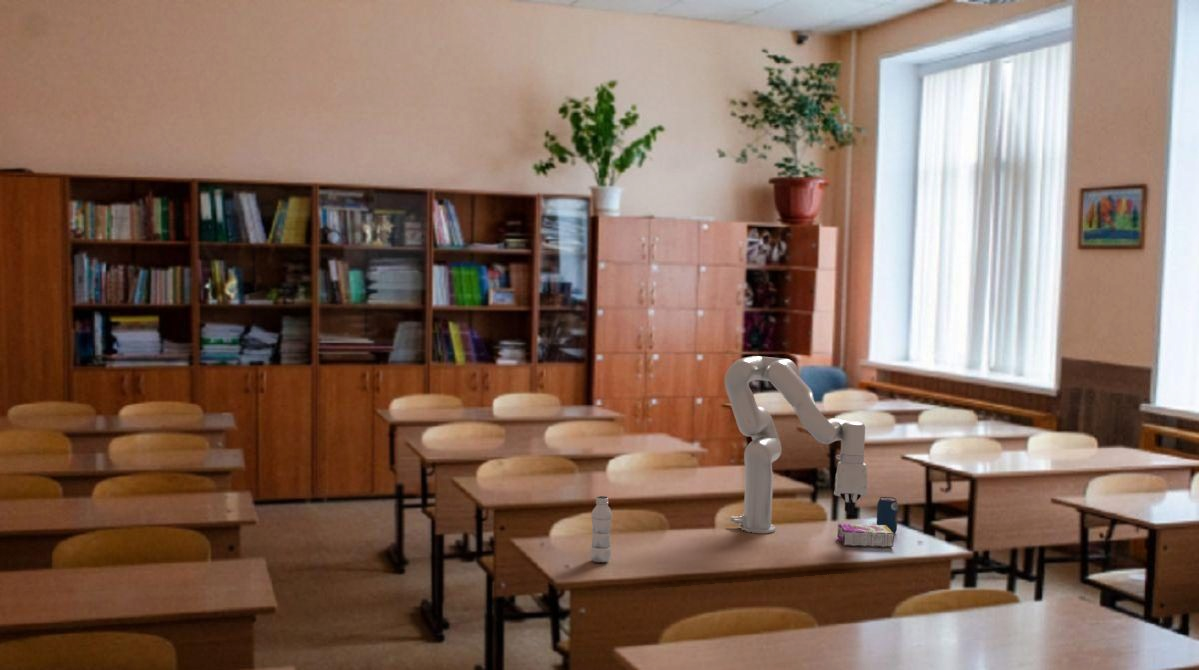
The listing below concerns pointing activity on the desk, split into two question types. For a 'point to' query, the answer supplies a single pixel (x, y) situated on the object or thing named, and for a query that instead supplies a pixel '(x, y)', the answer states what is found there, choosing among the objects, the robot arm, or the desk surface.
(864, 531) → the candy bar box
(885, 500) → the soda can
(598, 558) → the plastic bottle
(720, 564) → the desk surface
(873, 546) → the mat
